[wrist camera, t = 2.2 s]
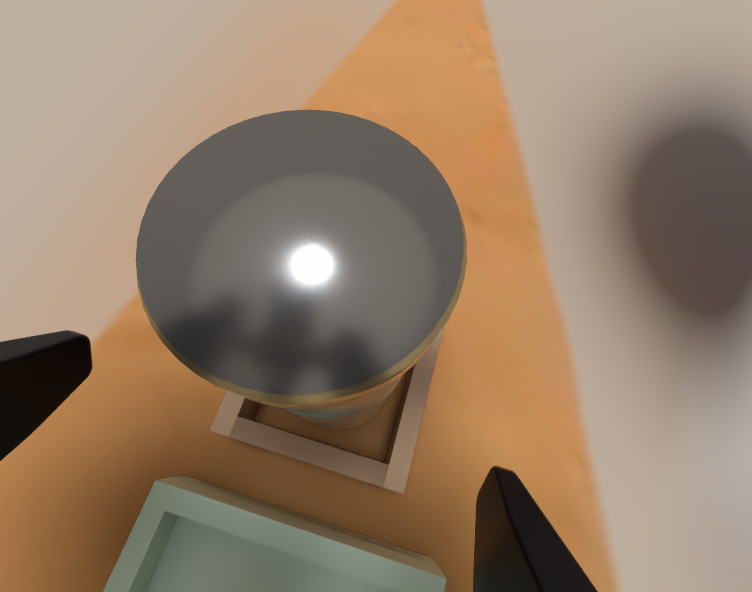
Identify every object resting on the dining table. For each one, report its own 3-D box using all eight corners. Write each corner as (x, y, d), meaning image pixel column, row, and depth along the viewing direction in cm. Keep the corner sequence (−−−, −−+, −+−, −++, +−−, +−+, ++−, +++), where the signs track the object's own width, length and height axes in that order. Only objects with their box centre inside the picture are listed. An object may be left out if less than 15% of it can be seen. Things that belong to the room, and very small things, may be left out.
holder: (397, 487, 16) (403, 494, 14) (229, 432, 17) (208, 430, 14) (437, 323, 19) (448, 306, 17) (293, 281, 20) (284, 259, 17)
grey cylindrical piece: (376, 447, 17) (427, 453, 5) (268, 412, 17) (54, 335, 5) (406, 339, 19) (495, 147, 7) (308, 310, 19) (221, 77, 7)
